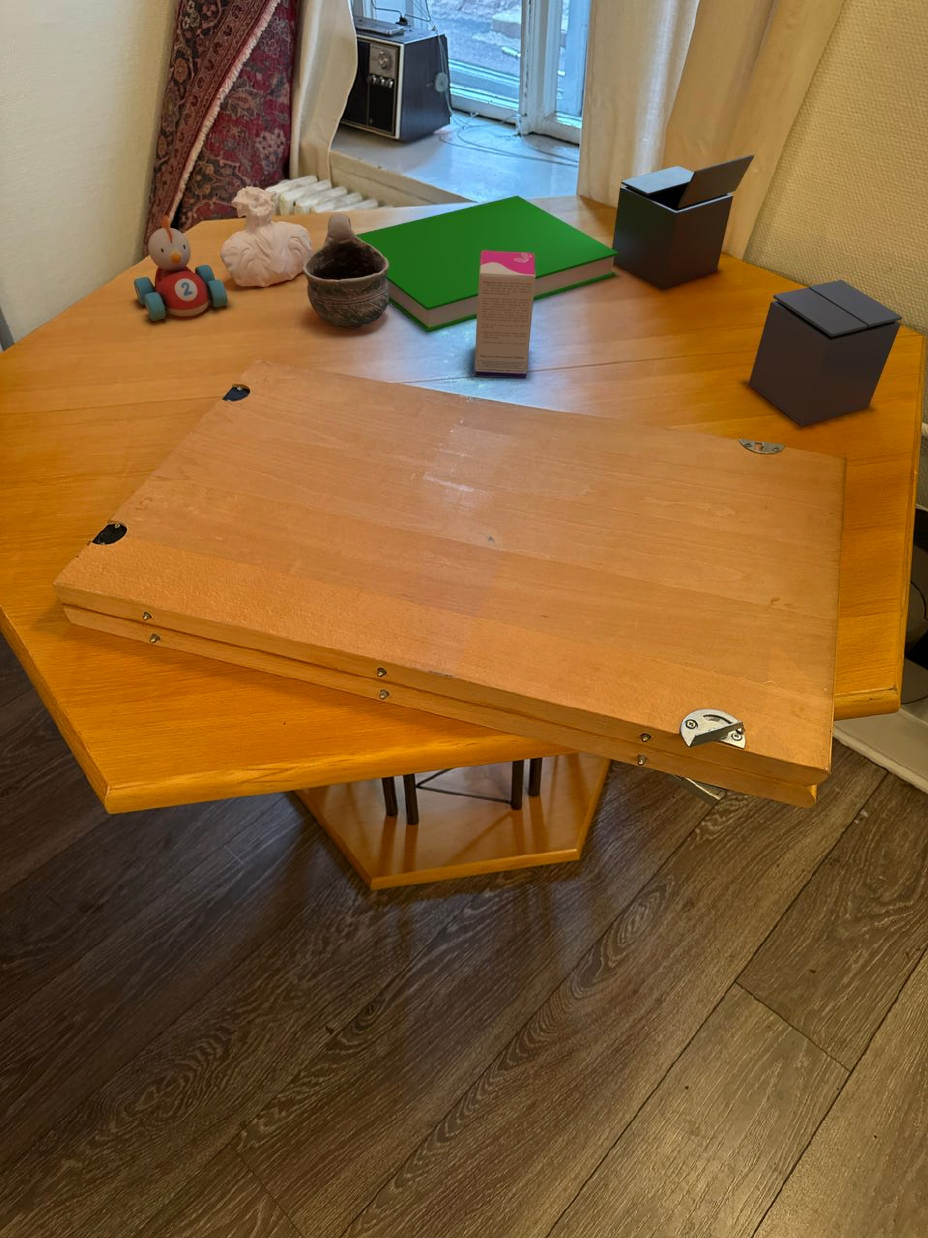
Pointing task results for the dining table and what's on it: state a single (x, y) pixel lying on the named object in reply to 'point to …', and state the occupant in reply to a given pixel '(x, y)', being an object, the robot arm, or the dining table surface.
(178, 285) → the toy car
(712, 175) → the back flap
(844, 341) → the front carton
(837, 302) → the front flap
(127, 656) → the dining table surface
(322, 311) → the mug
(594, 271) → the book
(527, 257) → the supplement box
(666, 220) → the back carton
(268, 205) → the bust
